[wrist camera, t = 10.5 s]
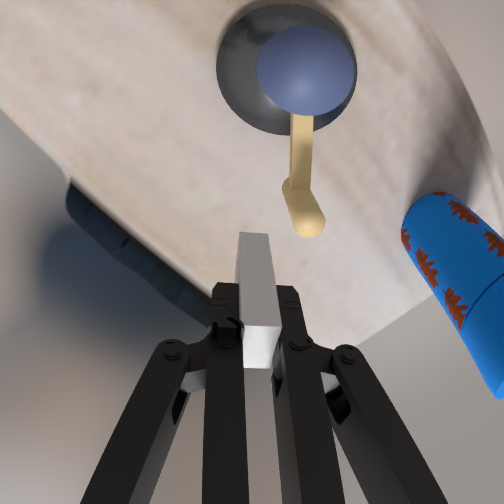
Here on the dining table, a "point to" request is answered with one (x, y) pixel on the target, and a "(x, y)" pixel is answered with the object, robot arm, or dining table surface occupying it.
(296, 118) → the blue crank handle
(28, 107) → the dining table surface
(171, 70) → the dining table surface
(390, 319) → the dining table surface
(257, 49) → the post base
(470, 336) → the thermos
